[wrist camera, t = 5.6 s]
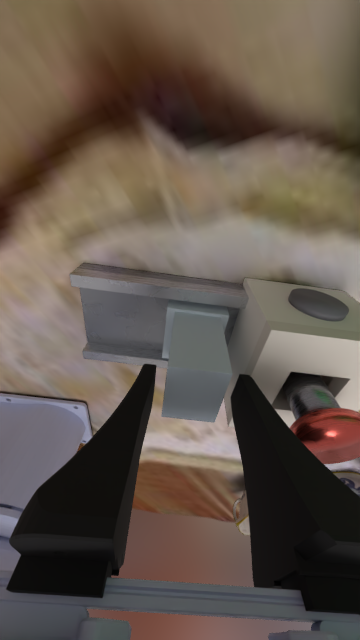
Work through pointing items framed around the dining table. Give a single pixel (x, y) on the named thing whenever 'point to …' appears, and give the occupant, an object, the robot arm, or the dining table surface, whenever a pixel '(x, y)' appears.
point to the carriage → (195, 360)
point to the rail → (141, 309)
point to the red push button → (322, 419)
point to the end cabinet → (296, 342)
